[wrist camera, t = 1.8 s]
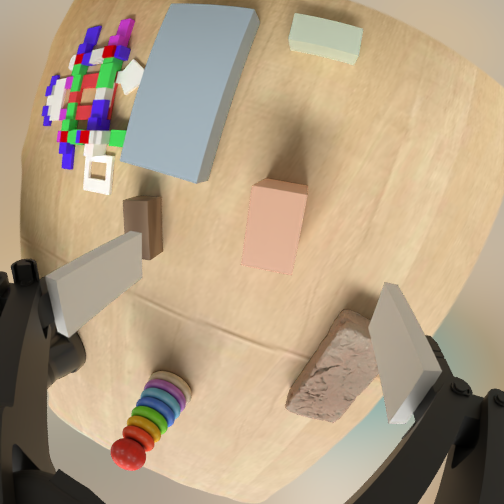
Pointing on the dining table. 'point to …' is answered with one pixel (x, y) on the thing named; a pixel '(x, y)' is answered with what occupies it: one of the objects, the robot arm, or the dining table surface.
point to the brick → (335, 370)
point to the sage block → (325, 38)
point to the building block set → (102, 105)
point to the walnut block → (145, 223)
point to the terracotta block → (274, 225)
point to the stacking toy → (150, 418)
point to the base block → (188, 89)
